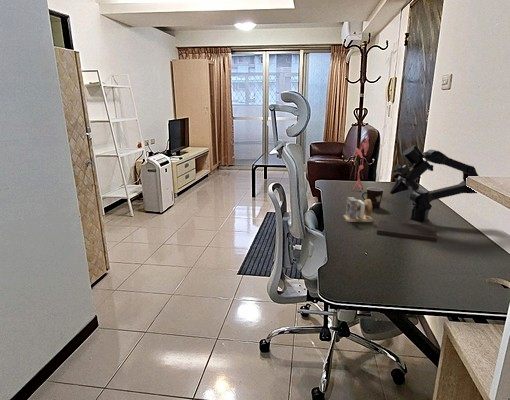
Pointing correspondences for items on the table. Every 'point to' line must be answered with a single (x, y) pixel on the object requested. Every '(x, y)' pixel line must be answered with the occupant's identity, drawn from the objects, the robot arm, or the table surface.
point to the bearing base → (366, 219)
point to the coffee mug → (374, 196)
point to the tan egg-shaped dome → (367, 207)
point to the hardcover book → (407, 230)
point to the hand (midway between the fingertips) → (390, 193)
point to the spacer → (361, 209)
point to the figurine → (366, 146)
